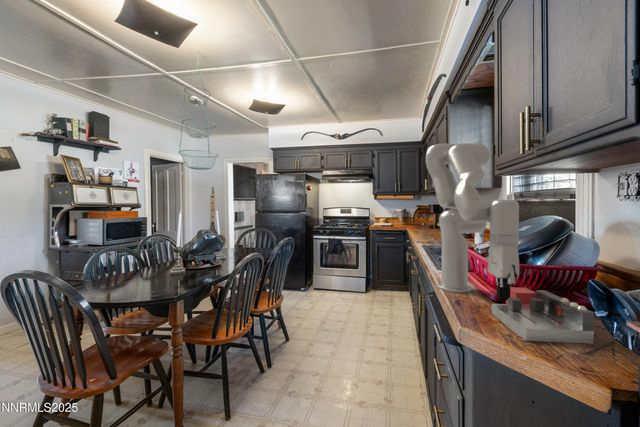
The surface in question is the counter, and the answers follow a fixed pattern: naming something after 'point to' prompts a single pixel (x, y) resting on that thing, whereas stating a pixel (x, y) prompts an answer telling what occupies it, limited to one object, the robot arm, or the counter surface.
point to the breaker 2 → (537, 304)
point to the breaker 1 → (515, 304)
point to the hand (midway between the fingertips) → (503, 298)
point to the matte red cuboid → (522, 294)
